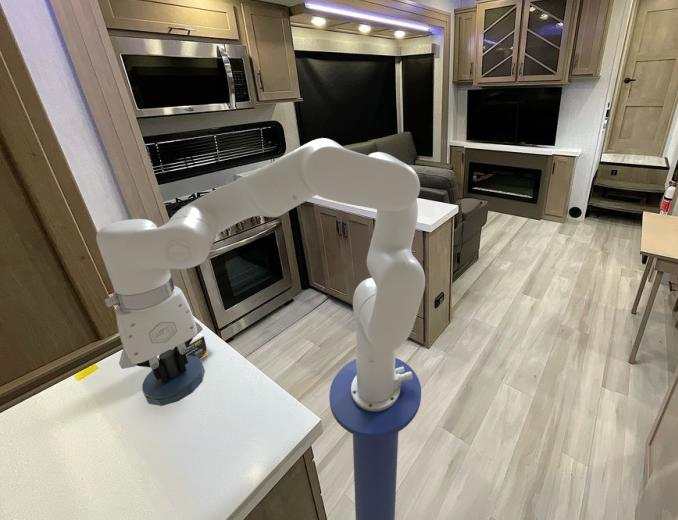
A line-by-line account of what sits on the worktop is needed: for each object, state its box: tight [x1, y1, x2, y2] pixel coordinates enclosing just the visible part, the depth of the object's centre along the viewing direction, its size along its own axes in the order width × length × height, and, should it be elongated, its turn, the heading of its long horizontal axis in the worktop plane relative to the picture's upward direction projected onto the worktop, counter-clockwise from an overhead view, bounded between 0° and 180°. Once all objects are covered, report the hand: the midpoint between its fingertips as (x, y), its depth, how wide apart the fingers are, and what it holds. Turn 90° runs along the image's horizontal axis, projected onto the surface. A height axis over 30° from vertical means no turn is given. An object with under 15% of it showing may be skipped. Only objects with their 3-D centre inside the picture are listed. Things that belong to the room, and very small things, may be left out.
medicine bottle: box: [172, 332, 209, 360], centre depth 88 cm, size 7×7×12 cm
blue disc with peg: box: [141, 349, 206, 407], centre depth 60 cm, size 9×9×7 cm
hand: (172, 372), depth 60 cm, fingers closed on blue disc with peg, 2 cm apart
